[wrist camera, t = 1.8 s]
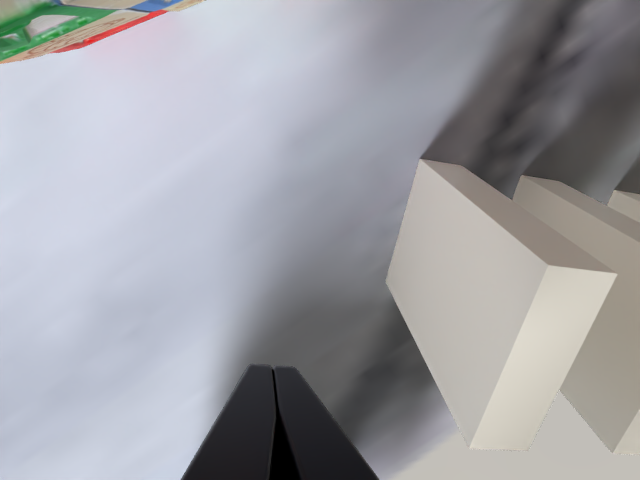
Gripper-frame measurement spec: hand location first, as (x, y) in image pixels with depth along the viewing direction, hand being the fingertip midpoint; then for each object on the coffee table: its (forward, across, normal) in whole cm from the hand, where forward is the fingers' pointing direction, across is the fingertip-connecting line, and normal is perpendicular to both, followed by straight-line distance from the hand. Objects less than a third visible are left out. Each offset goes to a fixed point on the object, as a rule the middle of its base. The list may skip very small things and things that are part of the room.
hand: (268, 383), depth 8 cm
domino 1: (+9, -6, 0) cm, 11 cm away
